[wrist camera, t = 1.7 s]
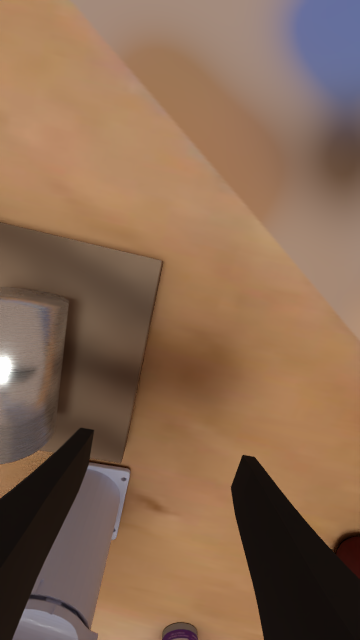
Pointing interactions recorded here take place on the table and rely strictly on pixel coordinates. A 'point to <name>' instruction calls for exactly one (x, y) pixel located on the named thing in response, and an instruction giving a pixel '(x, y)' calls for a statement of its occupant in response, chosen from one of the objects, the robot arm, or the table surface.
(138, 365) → the grey brown board
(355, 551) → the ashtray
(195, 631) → the container
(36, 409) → the roller
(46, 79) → the table surface
